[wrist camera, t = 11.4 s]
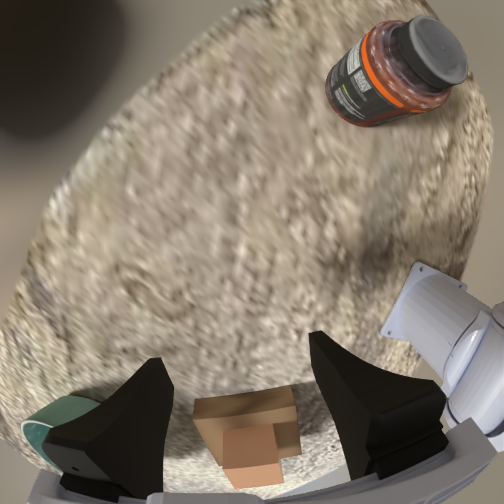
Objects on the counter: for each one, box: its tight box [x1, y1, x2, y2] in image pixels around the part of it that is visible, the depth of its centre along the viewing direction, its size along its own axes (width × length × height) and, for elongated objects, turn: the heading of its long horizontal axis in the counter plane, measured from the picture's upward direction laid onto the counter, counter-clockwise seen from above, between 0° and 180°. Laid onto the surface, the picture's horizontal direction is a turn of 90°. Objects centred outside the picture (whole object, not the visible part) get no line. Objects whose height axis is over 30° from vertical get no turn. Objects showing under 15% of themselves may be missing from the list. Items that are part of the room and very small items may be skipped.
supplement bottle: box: [325, 15, 468, 127], centre depth 13 cm, size 6×6×11 cm
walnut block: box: [192, 385, 302, 466], centre depth 26 cm, size 10×10×3 cm
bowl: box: [21, 396, 101, 473], centre depth 23 cm, size 16×16×8 cm
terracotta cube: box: [222, 424, 284, 489], centre depth 22 cm, size 5×5×5 cm
